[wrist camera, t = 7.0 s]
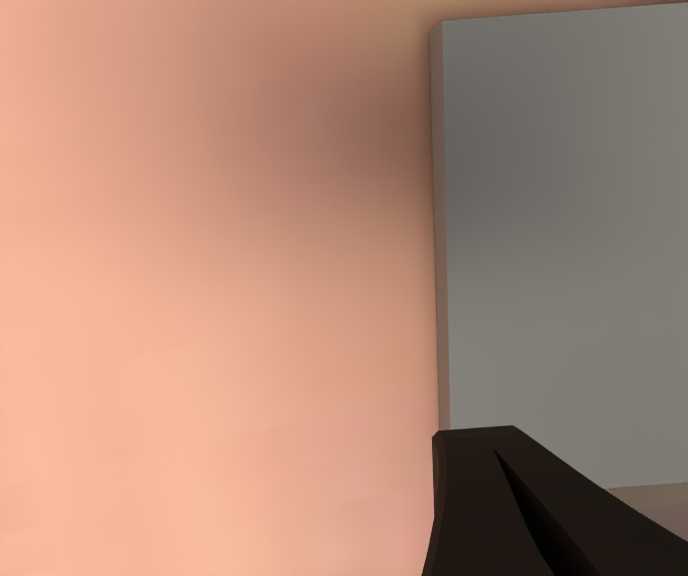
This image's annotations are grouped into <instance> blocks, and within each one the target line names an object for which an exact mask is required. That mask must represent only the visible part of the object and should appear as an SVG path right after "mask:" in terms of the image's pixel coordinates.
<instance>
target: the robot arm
mask: <svg viewBox="0 0 688 576" xmlns="http://www.w3.org/2000/svg"><path fill="white" fill-rule="evenodd" d="M432 454H433V487H434V522H433V527H432V532H431V537H430V542H429V547H428V552H427V556H426V560H425V564H424V568H423V572H422V575H421V576H688V542H687V541H685V540H683V539H682V538H680V537H678V536H677V535H675V534H673V533H672V532H670V531H668V530H667V529H665V528H664V527H662V526H660V525H659V524H657V523H655V522H654V521H652V520H651V519H649V518H647V517H646V516H644V515H642V514H641V513H639V512H638V511H636V510H634V509H633V508H631V507H630V506H628V505H627V504H625V503H624V502H622V501H621V500H619V499H618V498H616V497H614V496H613V495H611V494H610V493H609V492H607V491H606V490H604V489H603V488H601V487H600V486H598V485H597V484H595V483H594V482H592V481H591V480H590V479H588V478H587V477H585V476H584V475H582V474H581V473H580V472H578V471H577V470H575V469H574V468H573V467H571V466H570V465H568V464H567V463H566V462H564V461H563V460H562V459H560V458H559V457H557V456H556V455H555V454H553V453H552V452H550V451H549V450H548V449H546V448H545V447H544V446H542V445H541V444H540V443H538V442H537V441H535V440H534V439H533V438H531V437H530V436H529V435H527V434H526V433H524V432H523V431H521V430H520V429H518V428H517V427H515V426H514V425H507V426H493V427H479V428H466V429H452V430H439V431H438V432H437V433H436V434H435V435H434V436H433V437H432Z"/></svg>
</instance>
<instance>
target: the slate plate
mask: <svg viewBox="0 0 688 576" xmlns="http://www.w3.org/2000/svg"><path fill="white" fill-rule="evenodd" d="M429 45H430V84H431V122H432V161H433V200H434V238H435V277H436V316H437V354H438V393H439V430H452V429H466V428H479V427H493V426H507V425H514V426H515V427H517V428H518V429H520V430H521V431H523V432H524V433H526V434H527V435H529V436H530V437H531V438H533V439H534V440H535V441H537V442H538V443H540V444H541V445H542V446H544V447H545V448H546V449H548V450H549V451H550V452H552V453H553V454H555V455H556V456H557V457H559V458H560V459H562V460H563V461H564V462H566V463H567V464H568V465H570V466H571V467H573V468H574V469H575V470H577V471H578V472H580V473H581V474H582V475H584V476H585V477H587V478H588V479H590V480H591V481H592V482H594V483H595V484H597V485H598V486H600V487H601V488H603V489H606V488H620V487H633V486H647V485H661V484H674V483H688V2H685V3H672V4H658V5H645V6H631V7H617V8H604V9H590V10H577V11H563V12H550V13H536V14H522V15H509V16H495V17H482V18H468V19H455V20H442V21H441V22H440V23H439V24H438V25H437V26H435V27H434V28H433V29H432V30H431V31H430V32H429Z"/></svg>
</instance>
